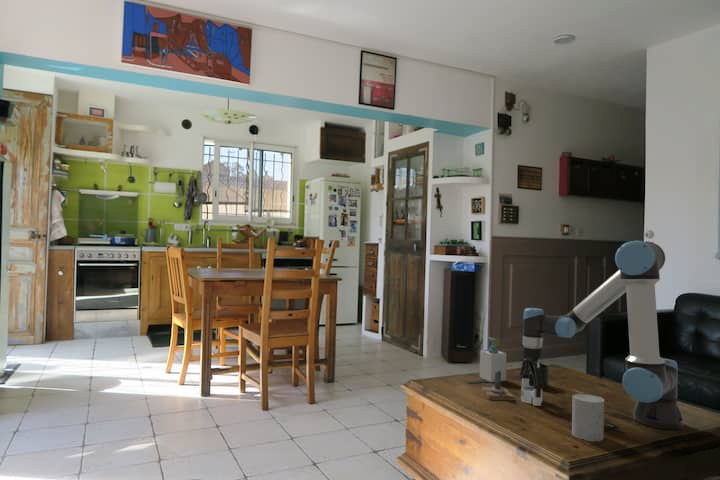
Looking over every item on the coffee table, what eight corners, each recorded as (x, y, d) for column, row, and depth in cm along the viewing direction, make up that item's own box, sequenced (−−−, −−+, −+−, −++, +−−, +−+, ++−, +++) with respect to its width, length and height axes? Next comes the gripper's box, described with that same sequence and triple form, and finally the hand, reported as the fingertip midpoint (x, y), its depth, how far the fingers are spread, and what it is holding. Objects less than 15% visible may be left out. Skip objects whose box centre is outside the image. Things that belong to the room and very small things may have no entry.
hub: (544, 404, 184) (544, 391, 184) (525, 403, 184) (525, 390, 185) (537, 398, 192) (537, 386, 192) (519, 397, 192) (519, 385, 192)
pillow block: (514, 400, 188) (514, 375, 188) (489, 399, 188) (489, 374, 189) (505, 391, 200) (505, 368, 200) (481, 390, 200) (482, 367, 201)
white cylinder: (594, 430, 158) (594, 393, 158) (610, 441, 148) (610, 402, 149) (566, 429, 158) (566, 393, 158) (580, 441, 148) (581, 402, 148)
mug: (519, 385, 210) (519, 365, 210) (531, 381, 218) (532, 361, 219) (539, 390, 203) (540, 369, 204) (551, 385, 212) (552, 365, 212)
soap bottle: (494, 376, 226) (495, 336, 226) (506, 380, 218) (506, 339, 218) (479, 377, 223) (480, 337, 223) (490, 382, 214) (491, 340, 215)
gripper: (554, 354, 176) (552, 410, 176) (530, 341, 201) (529, 390, 201) (534, 353, 176) (532, 409, 176) (513, 340, 201) (511, 389, 201)
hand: (530, 399), depth 188 cm, fingers open, 13 cm apart
